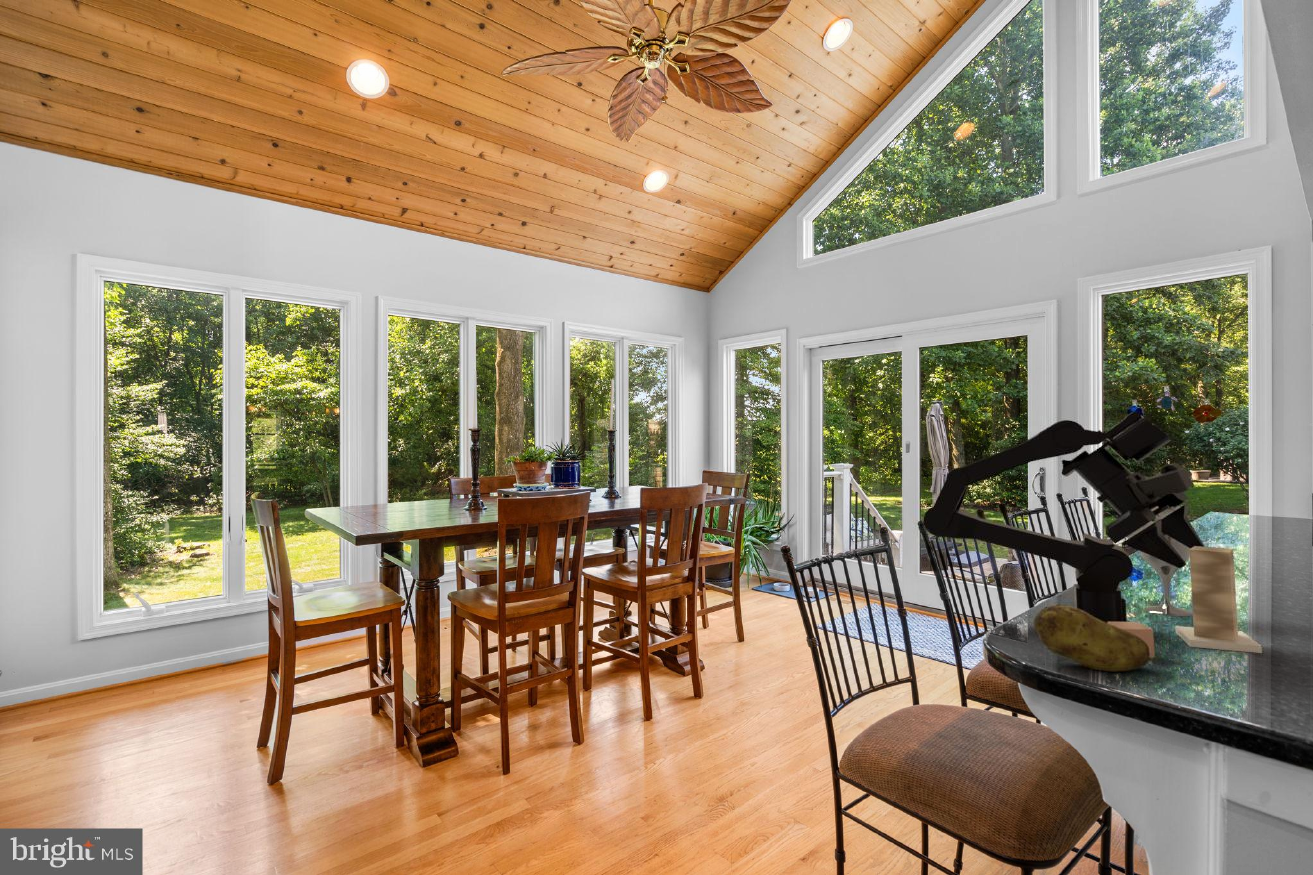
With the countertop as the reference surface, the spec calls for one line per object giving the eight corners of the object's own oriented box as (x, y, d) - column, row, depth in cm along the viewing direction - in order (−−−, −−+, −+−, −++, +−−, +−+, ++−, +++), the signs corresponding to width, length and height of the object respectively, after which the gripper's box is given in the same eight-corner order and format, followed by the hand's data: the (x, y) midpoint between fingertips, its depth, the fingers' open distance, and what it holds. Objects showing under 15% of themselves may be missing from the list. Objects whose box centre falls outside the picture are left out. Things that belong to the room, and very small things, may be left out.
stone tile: (1189, 646, 92) (1189, 639, 92) (1175, 632, 100) (1175, 625, 100) (1261, 653, 89) (1261, 646, 89) (1241, 637, 96) (1241, 631, 96)
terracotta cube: (1122, 656, 89) (1121, 628, 90) (1108, 648, 93) (1107, 621, 93) (1154, 657, 89) (1153, 629, 89) (1139, 649, 92) (1137, 621, 93)
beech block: (1194, 635, 94) (1189, 549, 95) (1199, 629, 97) (1194, 546, 98) (1234, 641, 91) (1229, 552, 91) (1238, 635, 94) (1233, 548, 94)
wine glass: (1209, 616, 108) (1204, 529, 108) (1163, 617, 108) (1158, 530, 108) (1172, 605, 116) (1167, 524, 116) (1129, 606, 116) (1124, 525, 116)
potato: (1149, 685, 79) (1146, 621, 79) (1032, 666, 87) (1029, 608, 87) (1151, 666, 85) (1148, 607, 85) (1041, 650, 93) (1038, 596, 93)
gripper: (1131, 459, 93) (1225, 545, 86) (1175, 441, 104) (1262, 516, 96) (1072, 502, 101) (1153, 585, 93) (1118, 481, 111) (1195, 554, 104)
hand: (1193, 558), depth 96 cm, fingers open, 9 cm apart
